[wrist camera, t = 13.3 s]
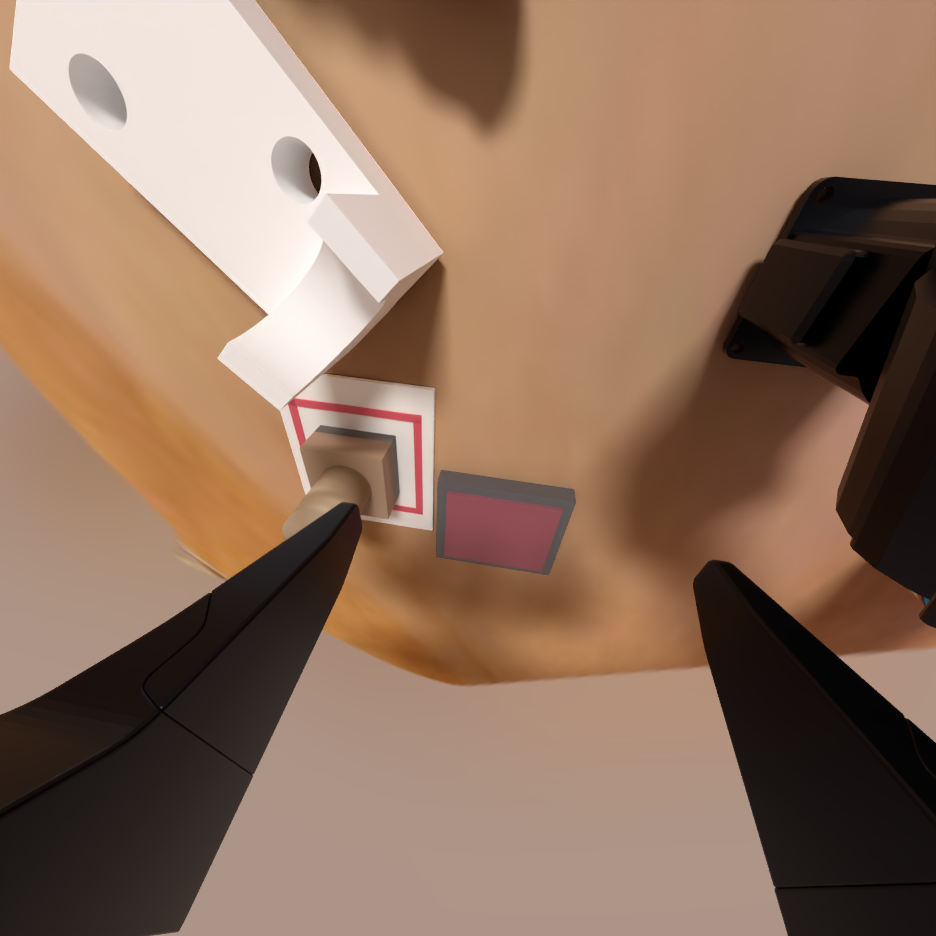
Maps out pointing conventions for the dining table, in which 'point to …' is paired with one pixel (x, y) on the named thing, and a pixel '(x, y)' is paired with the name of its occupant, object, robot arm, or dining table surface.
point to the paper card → (376, 412)
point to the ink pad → (501, 521)
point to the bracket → (234, 166)
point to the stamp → (347, 474)
